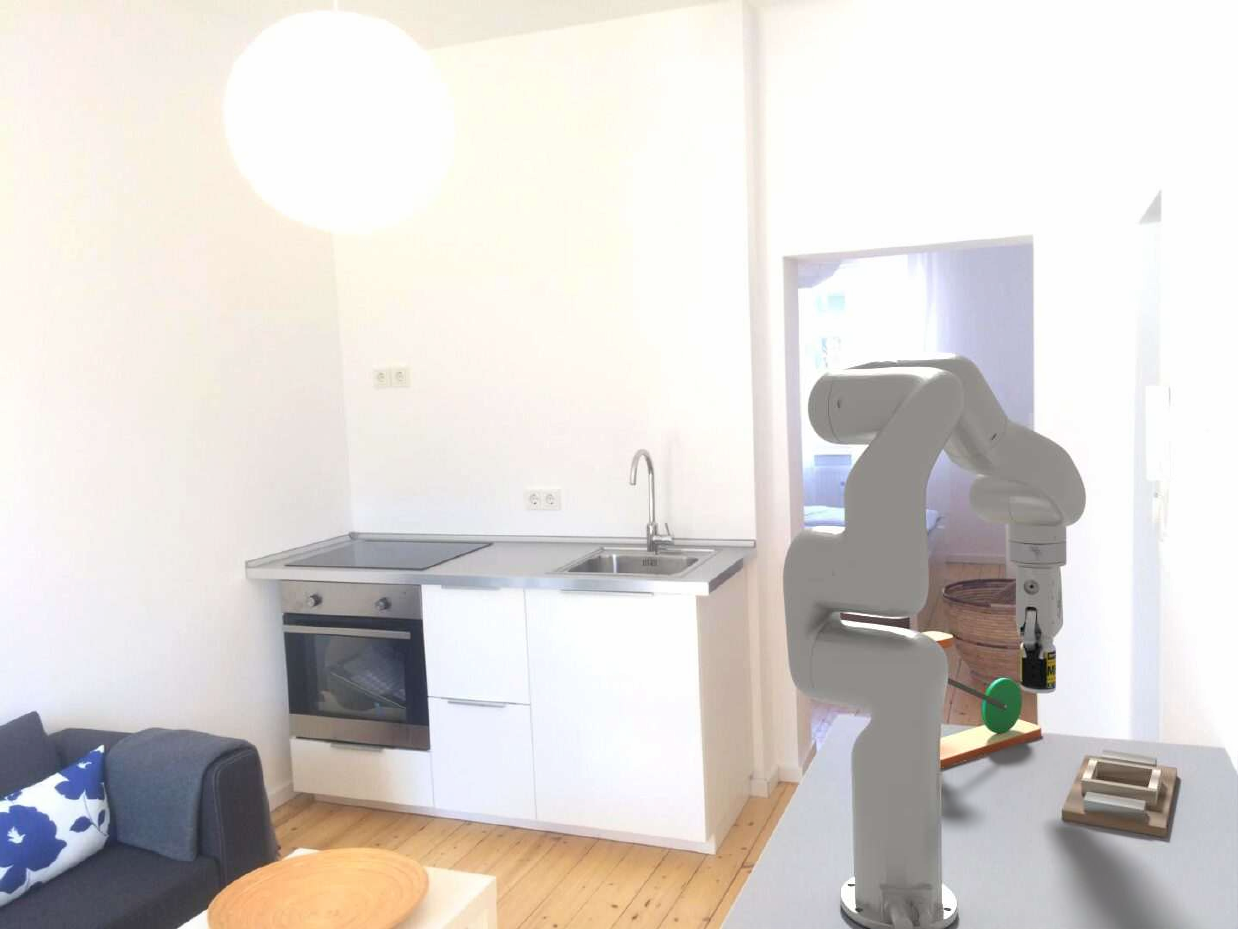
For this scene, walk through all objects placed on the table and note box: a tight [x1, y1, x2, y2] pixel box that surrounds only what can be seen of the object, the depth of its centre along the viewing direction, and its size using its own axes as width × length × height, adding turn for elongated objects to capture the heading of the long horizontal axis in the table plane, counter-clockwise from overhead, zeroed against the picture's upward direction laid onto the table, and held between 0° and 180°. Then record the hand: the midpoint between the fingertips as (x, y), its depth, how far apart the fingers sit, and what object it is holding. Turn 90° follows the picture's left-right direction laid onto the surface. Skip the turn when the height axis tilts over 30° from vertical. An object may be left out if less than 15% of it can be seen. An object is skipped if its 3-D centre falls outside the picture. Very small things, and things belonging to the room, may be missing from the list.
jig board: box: [1061, 749, 1178, 838], centre depth 142 cm, size 22×12×3 cm, turn 148°
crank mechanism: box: [922, 630, 1042, 769], centre depth 162 cm, size 25×7×19 cm, turn 120°
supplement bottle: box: [1019, 632, 1057, 694], centre depth 146 cm, size 5×5×8 cm
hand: (1038, 679), depth 146 cm, fingers closed on supplement bottle, 4 cm apart
